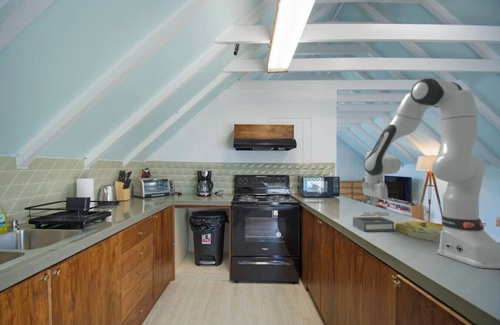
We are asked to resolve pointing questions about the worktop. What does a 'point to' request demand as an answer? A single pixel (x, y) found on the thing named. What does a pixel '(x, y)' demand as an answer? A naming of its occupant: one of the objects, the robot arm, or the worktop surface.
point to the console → (373, 224)
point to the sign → (420, 229)
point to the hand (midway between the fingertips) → (374, 205)
